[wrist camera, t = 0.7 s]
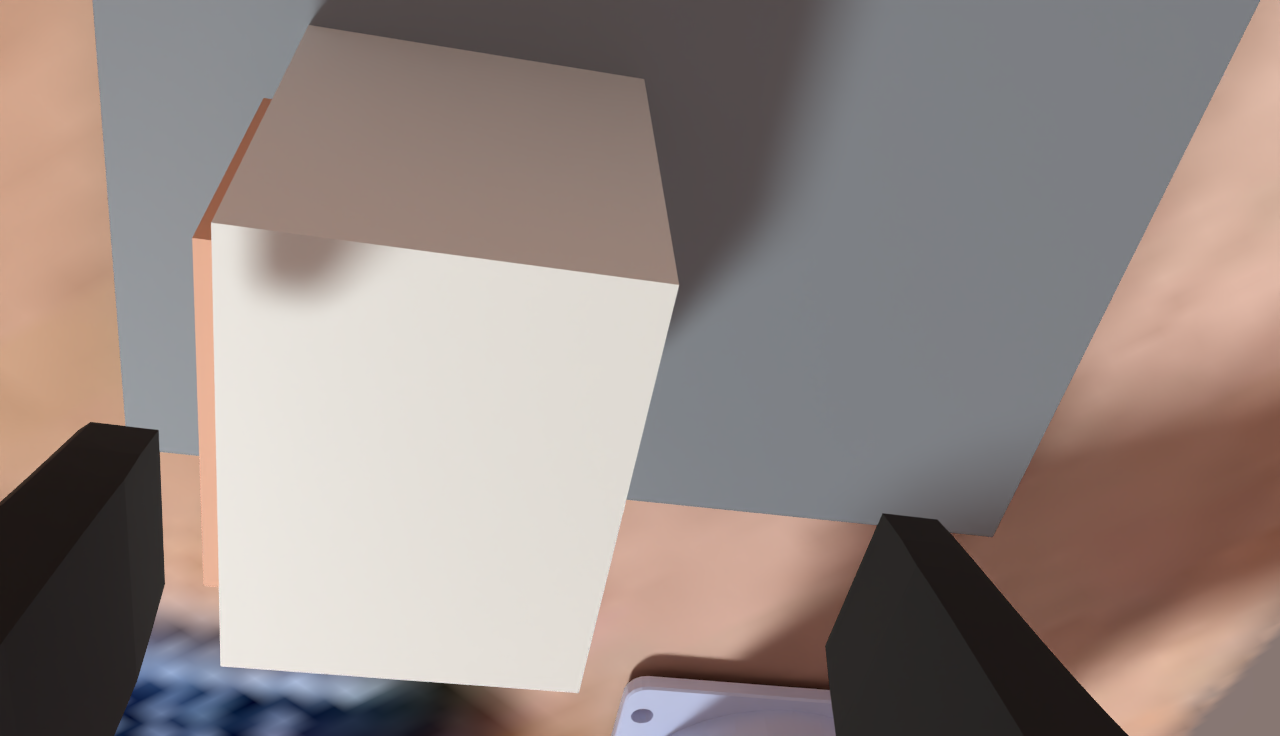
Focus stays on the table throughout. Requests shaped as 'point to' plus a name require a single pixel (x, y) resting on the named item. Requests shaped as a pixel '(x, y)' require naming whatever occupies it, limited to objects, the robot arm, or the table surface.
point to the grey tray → (758, 213)
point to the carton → (426, 361)
